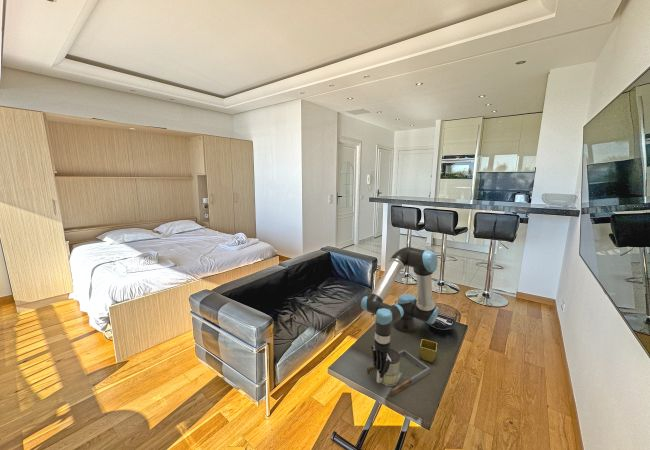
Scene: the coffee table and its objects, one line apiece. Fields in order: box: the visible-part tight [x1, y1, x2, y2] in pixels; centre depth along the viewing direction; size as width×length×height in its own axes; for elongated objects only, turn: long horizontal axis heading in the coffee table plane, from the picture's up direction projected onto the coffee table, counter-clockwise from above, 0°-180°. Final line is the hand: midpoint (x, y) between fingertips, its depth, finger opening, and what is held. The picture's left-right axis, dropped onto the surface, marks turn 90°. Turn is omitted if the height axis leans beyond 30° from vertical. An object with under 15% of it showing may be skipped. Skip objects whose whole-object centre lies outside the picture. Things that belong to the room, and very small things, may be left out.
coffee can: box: [380, 348, 401, 387], centre depth 134 cm, size 10×10×14 cm
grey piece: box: [397, 349, 431, 386], centre depth 143 cm, size 15×18×3 cm
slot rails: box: [366, 364, 412, 397], centre depth 136 cm, size 14×18×3 cm
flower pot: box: [419, 338, 438, 363], centre depth 151 cm, size 9×9×9 cm
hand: (379, 381), depth 132 cm, fingers closed
